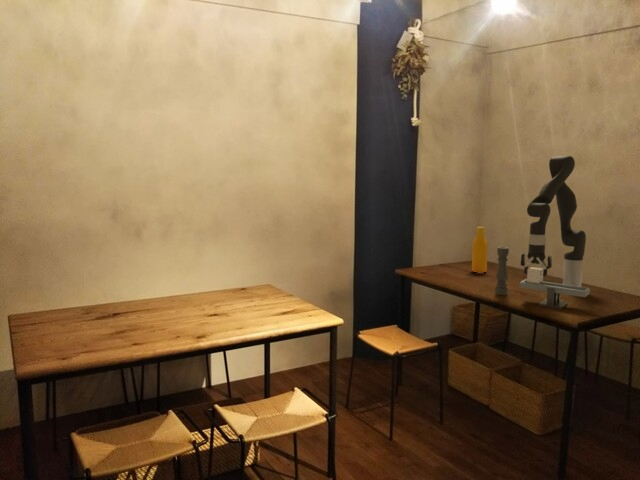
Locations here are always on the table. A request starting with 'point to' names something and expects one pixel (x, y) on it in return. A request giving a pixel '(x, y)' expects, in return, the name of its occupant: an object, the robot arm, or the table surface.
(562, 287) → the beam
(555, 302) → the pivot stand
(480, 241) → the beer bottle
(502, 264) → the candle holder
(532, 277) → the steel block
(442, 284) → the table surface
